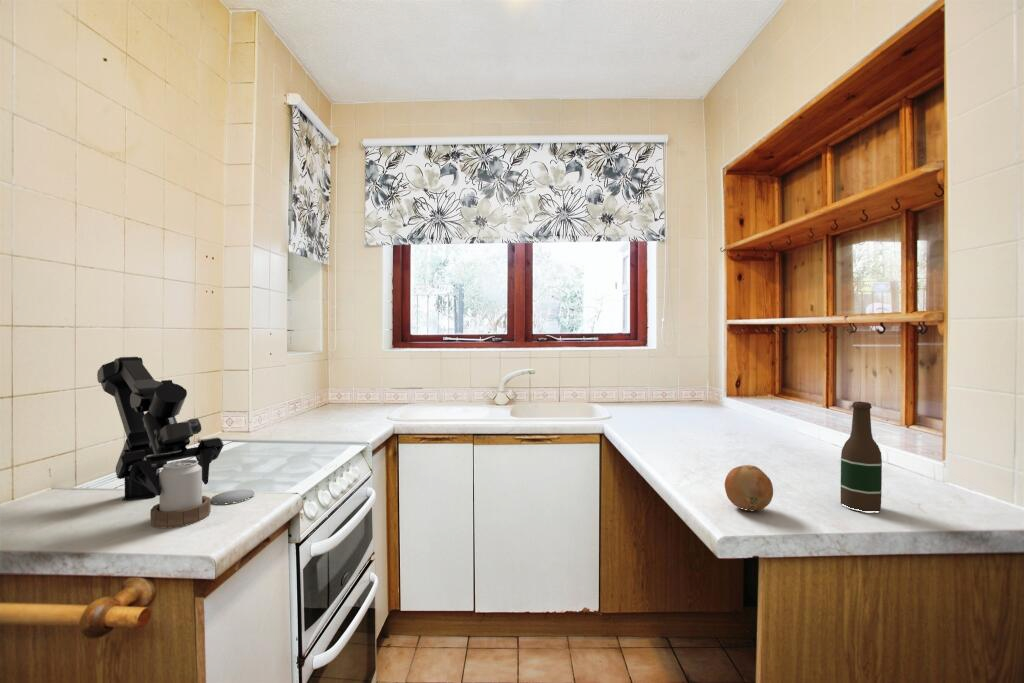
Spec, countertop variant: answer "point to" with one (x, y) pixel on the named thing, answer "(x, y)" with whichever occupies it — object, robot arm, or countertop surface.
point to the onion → (748, 487)
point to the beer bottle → (861, 464)
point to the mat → (232, 496)
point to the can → (180, 485)
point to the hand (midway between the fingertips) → (183, 488)
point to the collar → (180, 515)
